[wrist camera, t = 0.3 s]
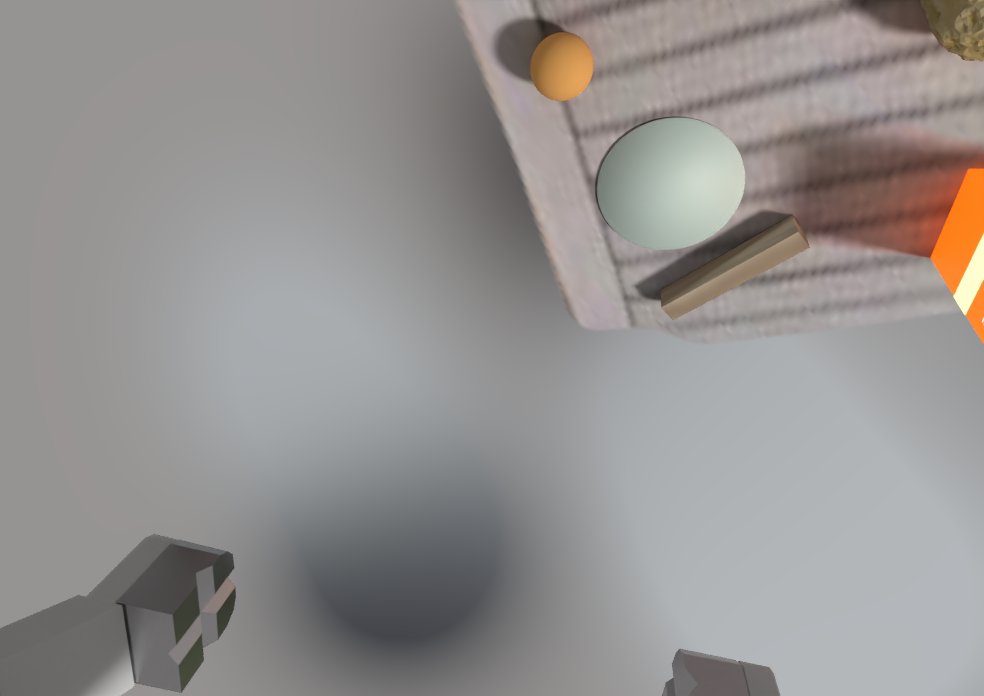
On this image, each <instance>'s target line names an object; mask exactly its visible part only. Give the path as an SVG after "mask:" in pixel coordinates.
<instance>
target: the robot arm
mask: <svg viewBox="0 0 984 696" xmlns="http://www.w3.org/2000/svg"><path fill="white" fill-rule="evenodd" d="M233 569H234V561H233V554H231V553H230V552H228V551H224V550H220V549H215V548H212V547H207V546H203V545H199V544H195V543H191V542H187V541H183V540H177V539H173V538H168V537H165V536H160V535H156V534H153V535H151V536H148V537H146V538H145V539H143V540H142V541H141V542H140V543H139V544H138V546H136V547H135V548H134V549H133V551H131V552H130V553H129V554H128V555H127V557H126V558H124V560H122V561H121V562H120V563H119V564H118V565H117V566H116V567H115V568H114V569H113V570H112V571H111V572H110V573H109V574H108V575H107V576H106V577H105V578H104V579H103V580H102V581H101V582H100V583H99V584H98V585H97V586H96V587H95V588H94V589H93V590H92V591H91V592H90V593H89V594H88V595H87V596H86V597H85V596H80V595H77V596H75V597H73V598H70V599H68V600H66V601H63V602H61V603H59V604H56V605H54V606H52V607H49V608H47V609H44V610H42V611H40V612H38V613H35V614H33V615H30V616H28V617H26V618H23V619H21V620H19V621H16V622H14V623H11V624H9V625H7V626H4V627H3V628H0V696H120V695H122V694H123V693H125V692H126V691H128V690H129V689H131V688H132V687H134V685H135V684H134V683H137V684H142V685H147V686H151V687H156V688H161V689H166V690H171V691H175V692H180V693H182V691H183V690H184V688H185V687H186V685H187V684H188V682H189V681H190V680H191V678H192V677H193V675H194V674H195V672H196V671H197V670H198V668H199V667H200V665H201V664H202V662H203V661H204V657H203V648H204V647H206V646H207V645H209V644H211V643H213V642H215V641H216V640H218V639H219V637H220V636H221V634H222V633H223V631H224V630H225V628H226V627H227V625H228V622H229V620H230V617H231V615H232V613H233V610H234V605H235V599H236V591H235V586H234V584H233V583H232V582H231V580H230V579H229V578H228V576H229V574H230V573H231V572H232V570H233ZM672 668H673V677H674V678H672V679H671V680H669V681H668V682H666V684H665V688H664V691H663V694H662V696H780V693H779V689H778V686H777V683H776V679H775V676H774V673H773V672H772V671H771V669H770V668H769V667H765V666H761V665H755V664H751V663H746V662H742V661H738V662H737V661H736V660H732V659H727V658H723V657H718V656H713V655H708V654H703V653H698V652H693V651H688V650H683V649H679V650H678V651H677V653H676V655H675V657H674V660H673V663H672Z"/></svg>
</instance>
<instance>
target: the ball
mask: <svg viewBox="0 0 984 696" xmlns="http://www.w3.org/2000/svg"><path fill="white" fill-rule="evenodd" d="M530 72H531V77H532V81H533V83H534V85H535V87H536V88H537V90H538V91H539V92H540V93H541V94H542V95H544V96H545V97H547V98H549V99H552V100H556V101H565V100H569V99H572V98H574V97H576V96H578V95H579V94H580V93H581V92H583V90H584V89H585V88H586V87H587V85H588V84H589V82H590V80H591V77H592V73H593V57H592V53H591V51H590V49H589V47H588V45H587V44H586V43H585V42H584V41H583V40H582V39H581V38H580V37H578V36H576V35H575V34H572V33H567V32H559V33H555V34H552V35H550V36H548V37H546V38H545V39H544V40H542V41H541V42H540V43H539V45H538V46H537V47H536V49H535V51H534V53H533V55H532V59H531V64H530Z"/></svg>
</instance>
